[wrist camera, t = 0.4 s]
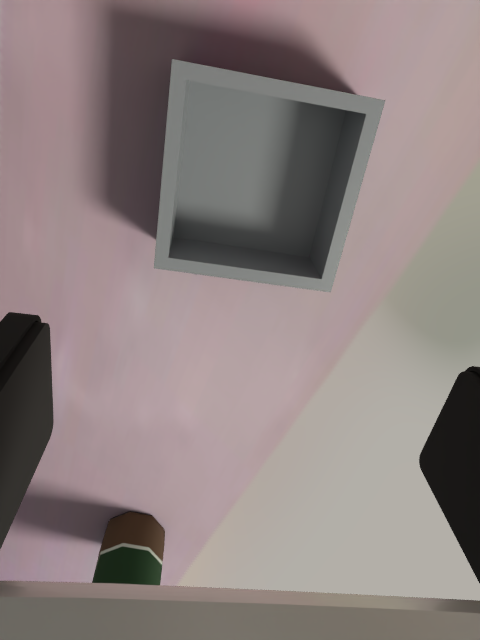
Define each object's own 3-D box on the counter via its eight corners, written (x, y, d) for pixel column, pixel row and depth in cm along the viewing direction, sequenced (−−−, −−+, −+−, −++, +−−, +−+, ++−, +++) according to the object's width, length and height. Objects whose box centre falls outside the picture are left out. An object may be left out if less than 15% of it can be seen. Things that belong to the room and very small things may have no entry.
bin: (178, 62, 33) (171, 58, 28) (359, 97, 35) (385, 100, 30) (161, 243, 40) (153, 268, 34) (315, 265, 42) (330, 292, 36)
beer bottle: (161, 507, 55) (129, 772, 34) (170, 548, 59) (145, 811, 38) (97, 512, 55) (25, 782, 34) (110, 553, 59) (51, 820, 38)
